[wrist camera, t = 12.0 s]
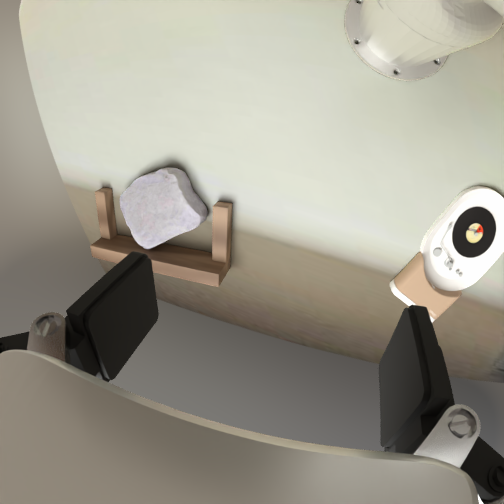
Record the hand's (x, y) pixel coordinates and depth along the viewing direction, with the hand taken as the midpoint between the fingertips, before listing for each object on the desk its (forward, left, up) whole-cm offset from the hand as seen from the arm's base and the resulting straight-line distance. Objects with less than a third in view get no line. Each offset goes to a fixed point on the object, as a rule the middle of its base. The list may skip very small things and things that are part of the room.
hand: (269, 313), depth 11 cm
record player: (+8, +22, -29) cm, 37 cm away
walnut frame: (+12, -21, -28) cm, 37 cm away
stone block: (+8, -20, -29) cm, 36 cm away
